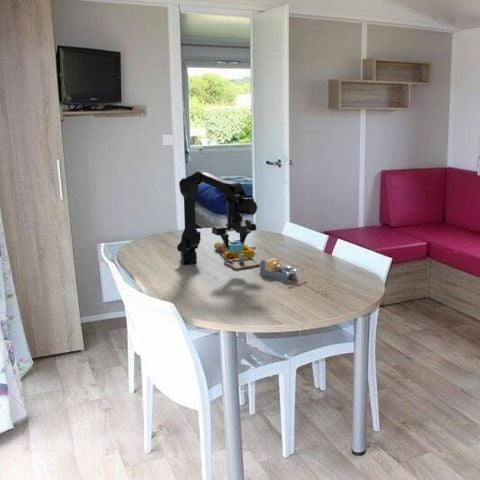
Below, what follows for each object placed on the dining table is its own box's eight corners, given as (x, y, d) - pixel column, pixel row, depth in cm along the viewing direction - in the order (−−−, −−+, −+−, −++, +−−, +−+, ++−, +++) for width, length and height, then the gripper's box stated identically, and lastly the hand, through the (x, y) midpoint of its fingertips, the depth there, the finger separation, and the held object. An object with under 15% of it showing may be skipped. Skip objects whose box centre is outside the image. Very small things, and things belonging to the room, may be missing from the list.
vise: (256, 275, 228) (256, 260, 226) (273, 270, 235) (273, 255, 233) (287, 284, 215) (287, 269, 213) (305, 279, 221) (305, 263, 220)
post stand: (235, 270, 235) (235, 259, 234) (223, 264, 245) (223, 253, 244) (259, 266, 240) (259, 255, 239) (246, 260, 251) (246, 249, 250)
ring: (231, 253, 226) (231, 245, 225) (224, 249, 231) (224, 242, 231) (244, 251, 229) (244, 243, 228) (238, 247, 234) (237, 240, 233)
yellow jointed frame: (227, 249, 242) (213, 237, 270) (227, 262, 243) (213, 249, 272) (265, 245, 246) (248, 234, 275) (266, 258, 248) (248, 246, 276)
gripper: (222, 218, 215) (223, 255, 219) (262, 213, 223) (262, 249, 227) (210, 213, 225) (212, 249, 228) (249, 209, 233) (250, 243, 237)
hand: (234, 248), depth 230 cm, fingers closed on ring, 6 cm apart
